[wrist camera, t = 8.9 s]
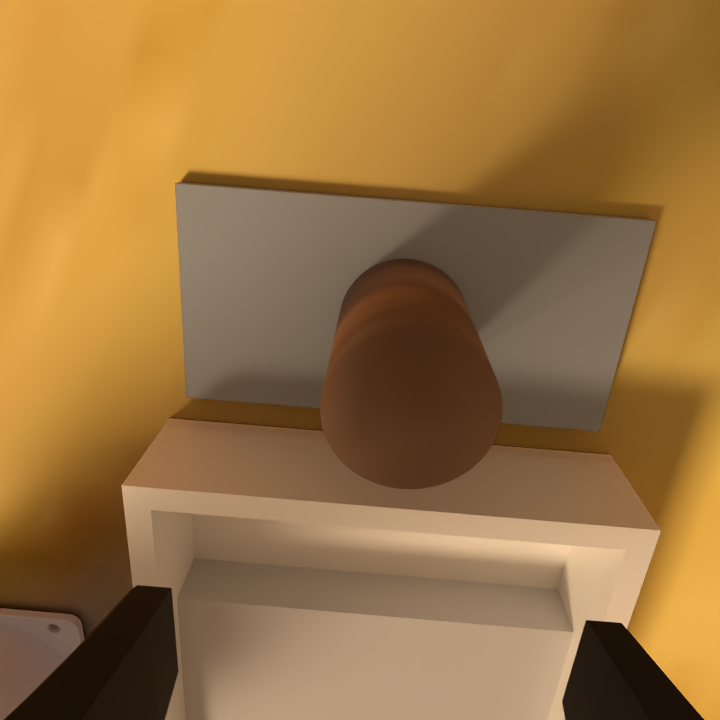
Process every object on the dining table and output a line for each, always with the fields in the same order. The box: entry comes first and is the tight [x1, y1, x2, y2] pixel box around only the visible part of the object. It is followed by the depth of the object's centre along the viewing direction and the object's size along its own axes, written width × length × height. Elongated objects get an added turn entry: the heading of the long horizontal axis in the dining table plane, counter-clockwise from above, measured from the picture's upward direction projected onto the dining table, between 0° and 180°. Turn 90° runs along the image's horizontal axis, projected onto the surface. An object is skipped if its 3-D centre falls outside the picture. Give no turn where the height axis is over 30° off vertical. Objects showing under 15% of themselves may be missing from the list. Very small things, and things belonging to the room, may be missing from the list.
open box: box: [121, 418, 661, 720], centre depth 22 cm, size 16×16×4 cm
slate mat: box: [175, 182, 656, 431], centre depth 18 cm, size 14×7×1 cm, turn 86°
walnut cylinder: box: [320, 259, 503, 489], centre depth 15 cm, size 4×4×6 cm
